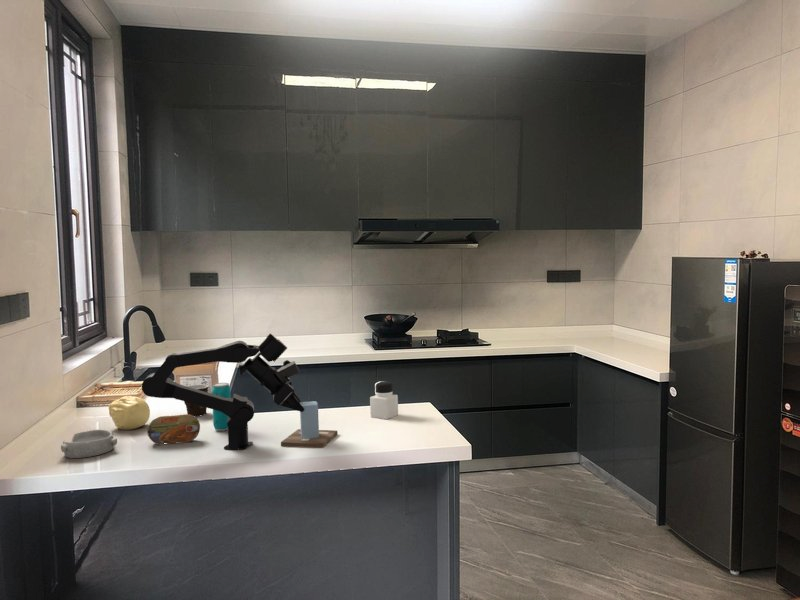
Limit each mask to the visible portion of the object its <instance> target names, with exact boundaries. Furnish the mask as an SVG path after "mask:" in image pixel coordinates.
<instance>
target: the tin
mask: <svg viewBox="0 0 800 600" xmlns="http://www.w3.org/2000/svg"><path fill="white" fill-rule="evenodd" d="M200 431H201V423H200V421H199V419H198V418H197V416H196V417H194V416H193V415H189V414H187V413H185V414H175V415H163V416H158V417H156V418H154V419H153V420H152V421H151V422H150V423H149V424H148V427H147V436H148V438H149V439H150V440H151V442H153V443H154V444H156V445H160V444H161V445H165V444H164V443H173V444H177V443H176V442H185V443H190V442H192V441H193V440H194V441H195V439H197V437H198V436H199V433H200Z"/></svg>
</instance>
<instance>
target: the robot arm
mask: <svg viewBox="0 0 800 600" xmlns="http://www.w3.org/2000/svg"><path fill="white" fill-rule="evenodd" d="M286 350H288V347H287V346H286V345H285V344H284V342H283V341H281V340H280V338H279V339H278V338H277V337H276V336H274V335H273V334H272V333H271V332H270V333H269V334H268V335H267V336H266V338H265V339H264V340H263V341H262V342H261V343H260V344H259V345H256V344H247V343H246V342H245V341H243V340H237V341H236V340H235V341H233V342H230V343H227V344H224V345H221V346H218V347H215V348H209V349H208V348H207V349H200V350H193V351H191V350H190V351H186V352H178V353H176V352H171V353H170V354H168V355H167V356H166V358H165V360H164V362H163V363H162V364H161V365H160V366H159V367H158V369H157V370H156V371H155V372H152V373H150V374H149V375H148V376H147V377H145V379H144V380H143V382H142V383H141V391H142V393H143V395H145V396H146V397H149V398H157V399H176V400H179V401H181V402H184V401H185V402H189V403H192V404H196V405H199V406H203V407H206V408H207V409H210V410H212V411H213V410H217V411H220V412H222V413H224V414H225V415H227V416H228V420H227V426H228V430H227V436H228V437H227V439H228V440H227V442H228V444H227V445H225V446H223V449H224V450H246V449H247V448H249V447H250V446H251V445H253V444H254V441H249V426H248V423H249V422H251V420H252V419H253V418H254V416H255V406H254V403H253V402H252V401H251V400H250V399H248V397H247V396H242V395H239V394H237V393H233V397H231V398H224V397H221V396H217V395H214V394H212V392H208V393H207V392H204V391H200V390H197V389H194V388H190V387H187V386H188V385H187V386H186V385H183V384H179V383H178V382H176V381H175V380H173V379H171V378H169V377H170V375H172V373H174V370H176V369H177V368H182V367H188V366H195V365H197V366H198V365H201V364H209V363H217V362H218V363H219V362H221V363H232V364H235V363H238V364H239V365H238V368H239V376H242V375H244V373H245V372H247V373H248V374H249V375H250V376H251V377H252V378H254V379H255V380H256V381H257V382H258V383H259V385H260V386H261V387H264V389H266V390H267V391H268V392H269V394H270V395H271V396H272V397H273V402H274V403H275V404H276V405H277V406H278V407H279V406H280V407H283V408H287V409H291V410H294V411H297V412H299V413H300V412H303V411H304V410H305V409H304V408H303V406H302V405H301V404H300V402H302V400H301V399H300V398H299V396H298V395H297V394H296V392H295V389H294V387H293V386H292V385H293V384H292V380H291V379H290V377H292V376H294V375H298V374H300V370H299V369H300V368H299V367H298V365H297V364H296V361H293V360H291V361H290V360H288V359H286V360H284V361H283V365H282V366H281V367H280V368H278V369H277V368H276V367H273V366H271V365H270V364H269V363H271V362H276V361H277V360H278V359H279V358H280V357H281V356H282V355H283V353H285V352H286ZM251 357H253V358H251ZM264 359H265V360H264ZM266 361H267V362H266ZM241 363H243V364H241Z"/></svg>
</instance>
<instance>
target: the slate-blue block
mask: <svg viewBox="0 0 800 600" xmlns="http://www.w3.org/2000/svg"><path fill="white" fill-rule="evenodd" d="M300 404H301V405H302V406H303V408H304V409H305V410H304V411H303V412H300V411H299V413H300V414H299V415H300V417H299V418H300V429H301V436H302V439H308V438H319V430H320V428H319V426H320V425H319V423H320V422H319V421H320V420H319V403H318V402H317V401H316V400H315V401H301V402H300Z"/></svg>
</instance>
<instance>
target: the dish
mask: <svg viewBox="0 0 800 600" xmlns="http://www.w3.org/2000/svg"><path fill="white" fill-rule="evenodd" d="M117 444H118V438H116V437H115V438H114V435H113V431H110V430H107V429H101V428H100V429H92V430H90V429H89V430H84V431H80V432H76V433H74V434H73V436H72V438H71V440H70V441H66V440H63V441H62V444H61V445H60V450H61V453H64V456H65V457H66V458H69V459H80V458H81V459H82V458H90V457H95V456H98V455H99V456H100V455H102V454H106V453H108V452H111V451H112V450H113V449H114V447H116V446H117Z"/></svg>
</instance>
